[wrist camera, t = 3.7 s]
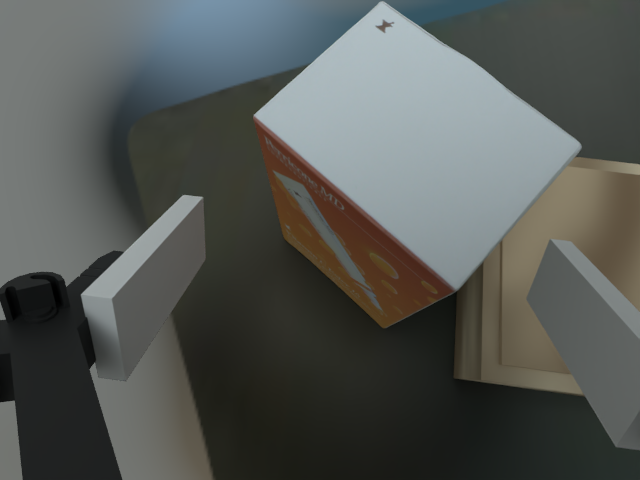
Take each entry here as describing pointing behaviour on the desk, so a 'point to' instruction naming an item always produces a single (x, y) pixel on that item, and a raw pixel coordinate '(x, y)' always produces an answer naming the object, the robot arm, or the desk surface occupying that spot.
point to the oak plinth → (521, 267)
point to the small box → (402, 164)
